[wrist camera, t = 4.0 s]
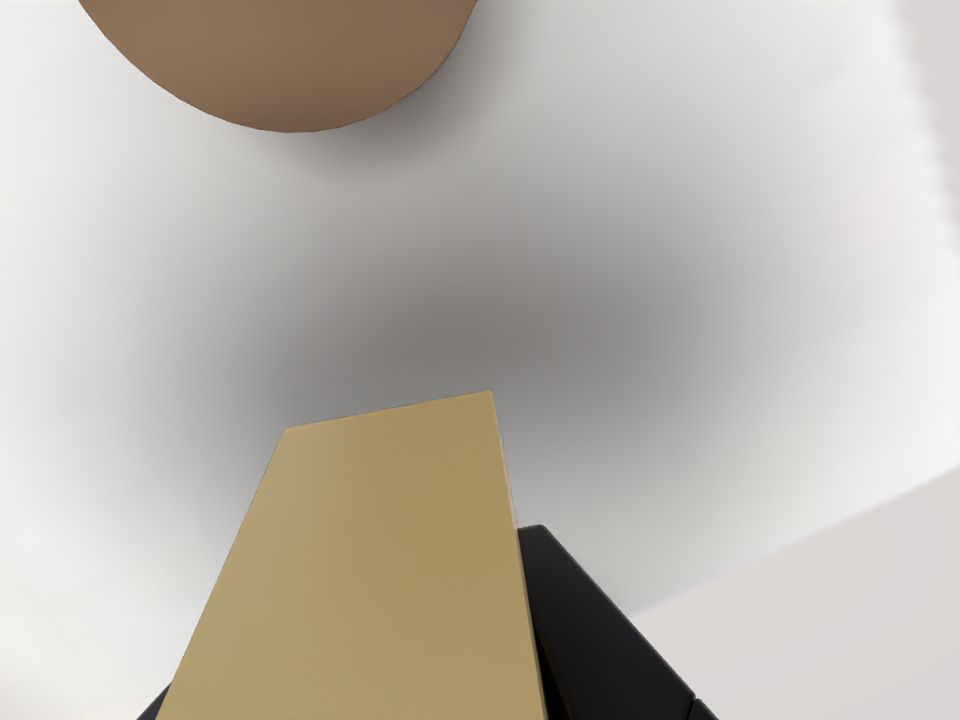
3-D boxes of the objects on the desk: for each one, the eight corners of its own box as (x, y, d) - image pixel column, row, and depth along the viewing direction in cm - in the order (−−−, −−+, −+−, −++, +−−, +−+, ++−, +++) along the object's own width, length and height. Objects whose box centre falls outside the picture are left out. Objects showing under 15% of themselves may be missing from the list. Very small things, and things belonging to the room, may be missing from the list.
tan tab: (532, 596, 10) (601, 996, 6) (357, 626, 10) (294, 1044, 6) (491, 388, 9) (544, 729, 4) (284, 428, 9) (118, 801, 4)
